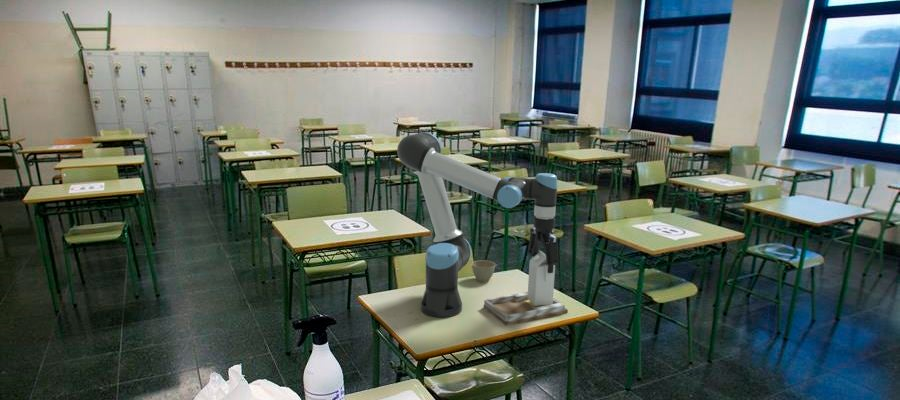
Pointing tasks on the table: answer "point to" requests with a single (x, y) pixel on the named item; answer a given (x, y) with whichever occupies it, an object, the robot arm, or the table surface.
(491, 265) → the flower pot
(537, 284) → the milk carton
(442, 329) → the table surface
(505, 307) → the divided compartment tray
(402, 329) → the table surface
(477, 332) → the table surface
